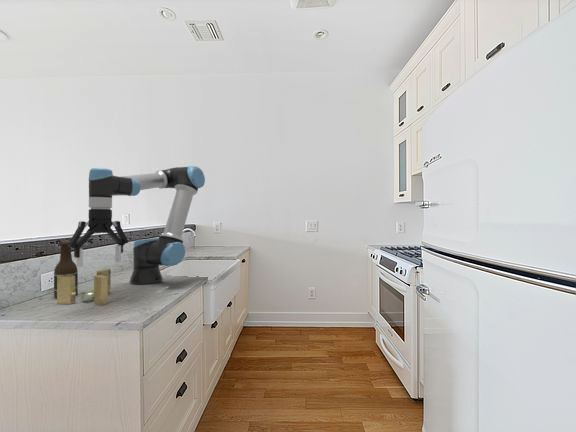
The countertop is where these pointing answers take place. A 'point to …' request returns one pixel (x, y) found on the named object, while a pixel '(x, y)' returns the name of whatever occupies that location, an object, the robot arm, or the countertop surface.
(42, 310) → the countertop surface
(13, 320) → the countertop surface
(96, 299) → the knob
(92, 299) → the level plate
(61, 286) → the tan rectangular block
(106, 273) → the knob
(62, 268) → the beer bottle
